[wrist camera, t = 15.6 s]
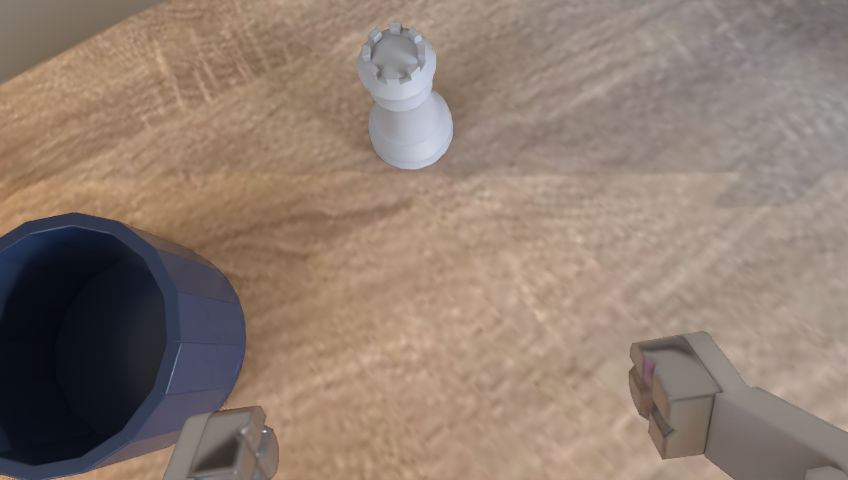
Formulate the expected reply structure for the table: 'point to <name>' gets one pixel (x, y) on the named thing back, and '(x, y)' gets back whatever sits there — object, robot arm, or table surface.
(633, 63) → the table surface
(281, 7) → the table surface
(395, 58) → the rook chess piece
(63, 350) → the tin
